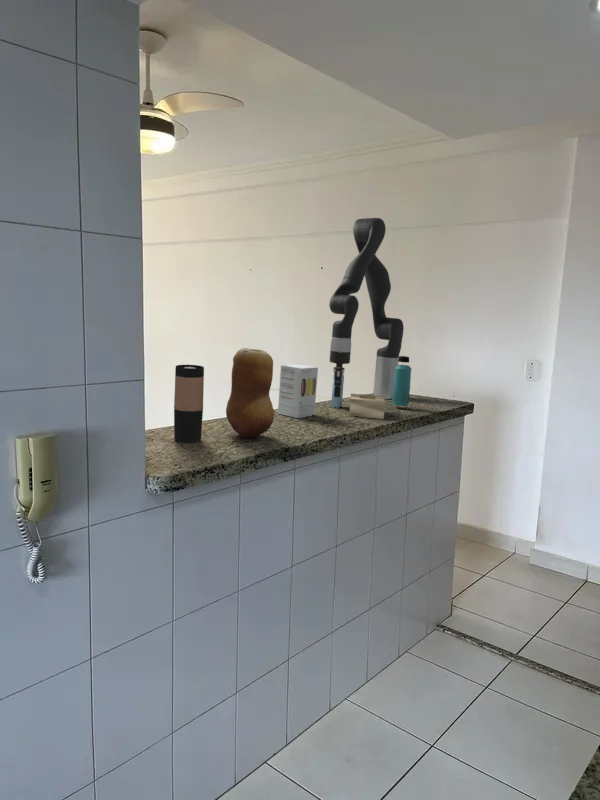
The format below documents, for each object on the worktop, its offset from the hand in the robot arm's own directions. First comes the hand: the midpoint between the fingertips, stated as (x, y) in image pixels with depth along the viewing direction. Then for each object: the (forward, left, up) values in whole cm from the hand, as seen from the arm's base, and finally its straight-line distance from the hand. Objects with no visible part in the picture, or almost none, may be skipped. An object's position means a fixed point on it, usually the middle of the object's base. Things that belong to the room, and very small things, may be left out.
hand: (337, 395), depth 220 cm
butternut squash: (+56, -23, -5) cm, 61 cm away
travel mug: (+65, -38, -5) cm, 75 cm away
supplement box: (+20, -13, -5) cm, 24 cm away
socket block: (+9, +11, -4) cm, 15 cm away
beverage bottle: (-8, +24, -5) cm, 26 cm away
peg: (0, 0, -4) cm, 4 cm away
